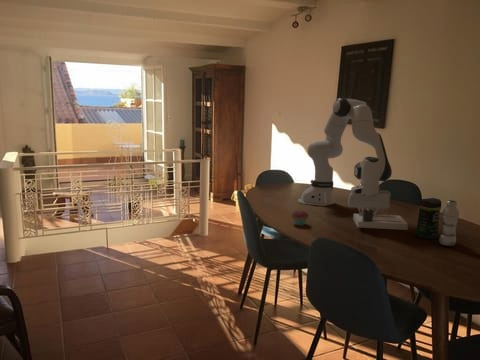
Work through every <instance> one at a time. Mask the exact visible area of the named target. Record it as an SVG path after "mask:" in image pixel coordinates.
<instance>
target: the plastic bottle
mask: <svg viewBox="0 0 480 360" xmlns="http://www.w3.org/2000/svg"><path fill="white" fill-rule="evenodd" d="M457 205H458V204H457V201H456V200H452V199H451V200H450V199H449V200H446V207H445V208H444V209H443V210H442V213H441V214H442V216H441V217H442V222H441V223H442V225H441V230H440V231H441V232H440V234H439V236H438V241H439V242H438V243H439V244H440V245H442V246H445V247H453V246H455V245H456V242H457V231H456V229H457V223H458V220H459V218H460V217H459V216H460V212H459V210H458V208H457Z"/></svg>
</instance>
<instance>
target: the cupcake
mask: <svg viewBox="0 0 480 360" xmlns="http://www.w3.org/2000/svg"><path fill="white" fill-rule="evenodd" d="M304 203H305V202H304ZM304 203H303V204H302V209H301V210H295V211H293V212H292V214H291V219H293V221H294V224H295V226H300V227H301V226H302V227H303V226H304V225H305V224H306V222H307V220H308V219H309V216H310V215H309V214H308V213H307V212H306V211H304V208H305V205H306V204H304Z"/></svg>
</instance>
